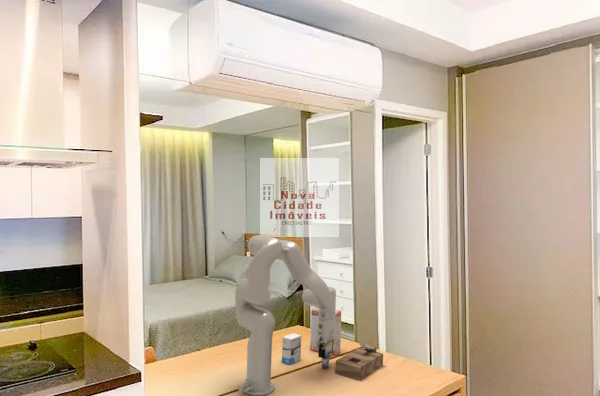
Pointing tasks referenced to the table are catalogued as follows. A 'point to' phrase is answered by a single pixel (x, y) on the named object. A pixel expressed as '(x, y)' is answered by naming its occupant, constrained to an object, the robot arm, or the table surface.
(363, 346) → the keeper bar
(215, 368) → the table surface
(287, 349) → the ink box
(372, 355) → the block
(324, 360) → the gold-lidded jar
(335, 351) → the cracker box
